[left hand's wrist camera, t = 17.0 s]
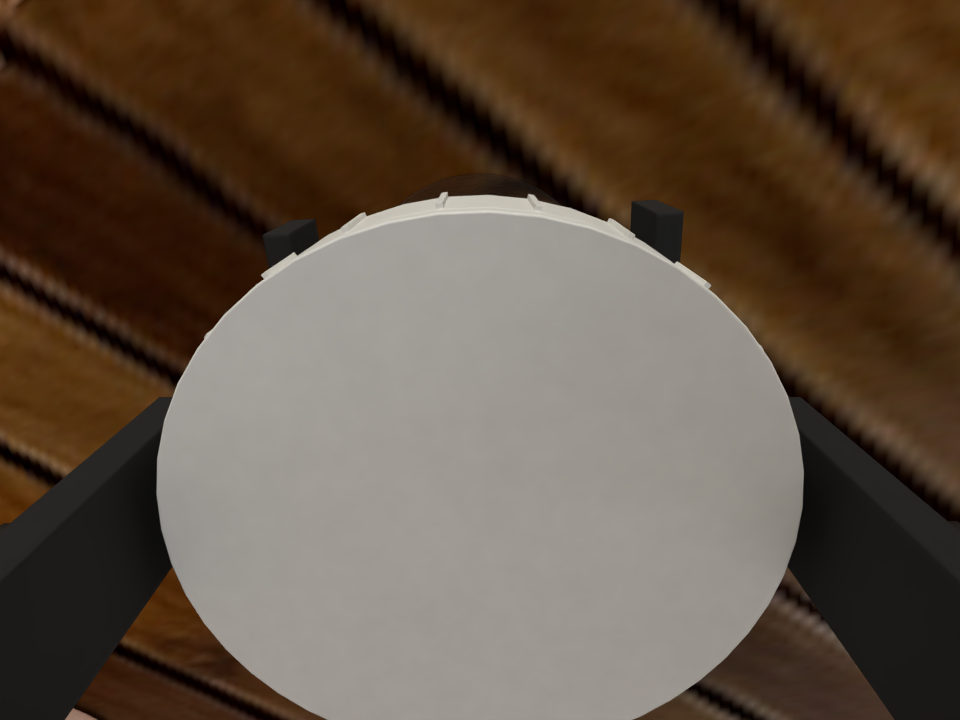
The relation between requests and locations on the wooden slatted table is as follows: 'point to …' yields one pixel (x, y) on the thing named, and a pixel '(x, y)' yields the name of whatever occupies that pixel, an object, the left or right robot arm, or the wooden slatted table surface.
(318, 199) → the wooden slatted table surface
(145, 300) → the wooden slatted table surface
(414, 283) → the lid
